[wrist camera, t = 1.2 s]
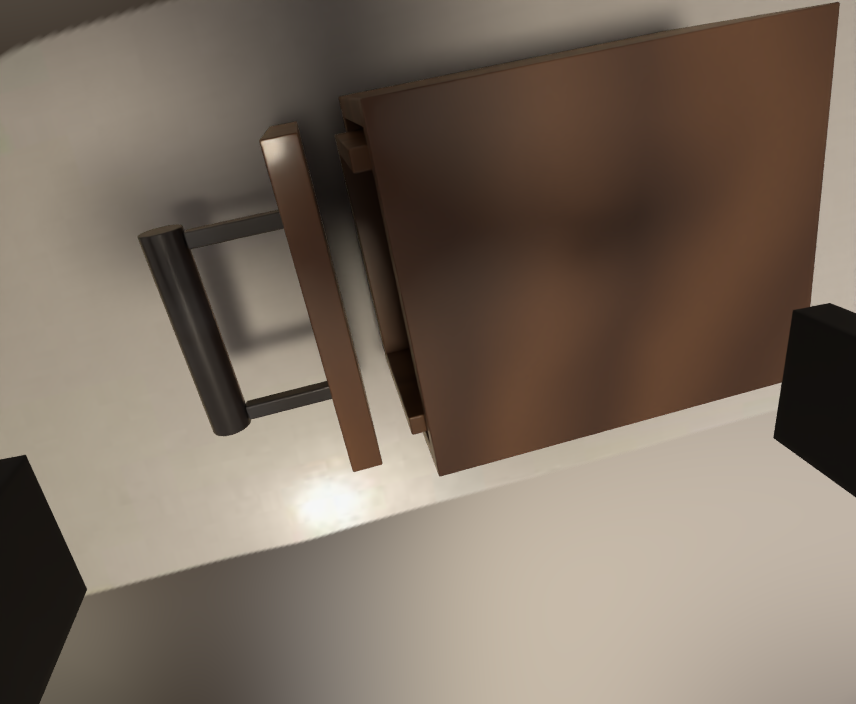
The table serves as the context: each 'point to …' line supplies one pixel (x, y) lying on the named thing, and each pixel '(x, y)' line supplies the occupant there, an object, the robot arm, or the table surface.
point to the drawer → (319, 289)
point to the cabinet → (602, 226)
